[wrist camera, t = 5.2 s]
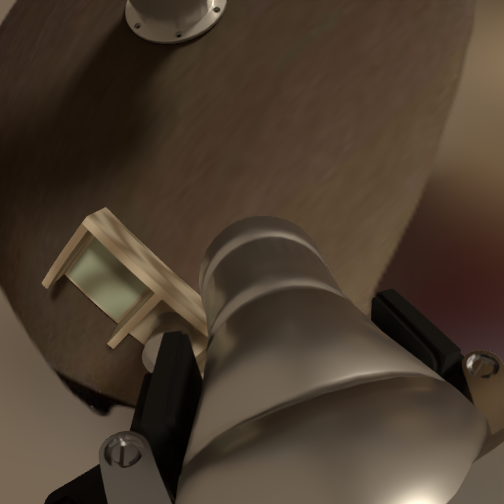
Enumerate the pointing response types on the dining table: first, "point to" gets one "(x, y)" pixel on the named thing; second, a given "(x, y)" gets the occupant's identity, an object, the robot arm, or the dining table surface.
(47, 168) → the dining table surface
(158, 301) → the divider rack
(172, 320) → the grey short cylinder
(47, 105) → the dining table surface
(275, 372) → the plastic bottle
